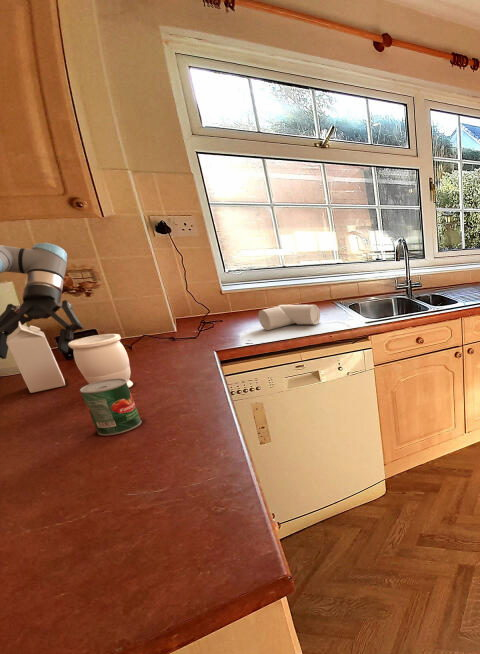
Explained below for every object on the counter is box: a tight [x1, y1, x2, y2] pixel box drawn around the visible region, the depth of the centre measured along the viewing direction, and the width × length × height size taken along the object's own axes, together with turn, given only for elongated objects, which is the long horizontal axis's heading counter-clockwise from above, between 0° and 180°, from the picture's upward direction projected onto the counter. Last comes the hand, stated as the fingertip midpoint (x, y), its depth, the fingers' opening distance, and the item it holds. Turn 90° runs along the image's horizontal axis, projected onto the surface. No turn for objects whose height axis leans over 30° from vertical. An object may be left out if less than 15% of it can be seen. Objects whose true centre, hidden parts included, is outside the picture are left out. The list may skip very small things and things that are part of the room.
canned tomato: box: [79, 378, 142, 437], centre depth 98 cm, size 8×8×11 cm
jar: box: [68, 333, 134, 389], centre depth 118 cm, size 11×10×15 cm
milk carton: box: [7, 321, 66, 394], centre depth 119 cm, size 7×7×19 cm
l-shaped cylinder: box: [257, 304, 321, 331], centre depth 179 cm, size 18×11×20 cm
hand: (31, 353), depth 118 cm, fingers open, 13 cm apart
